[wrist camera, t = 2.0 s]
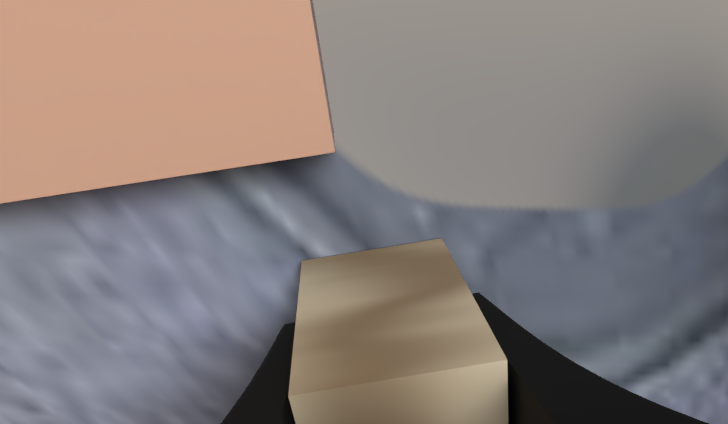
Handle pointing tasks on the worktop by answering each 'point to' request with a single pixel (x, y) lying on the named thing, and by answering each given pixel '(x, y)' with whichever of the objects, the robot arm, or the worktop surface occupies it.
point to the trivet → (154, 90)
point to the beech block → (393, 342)
